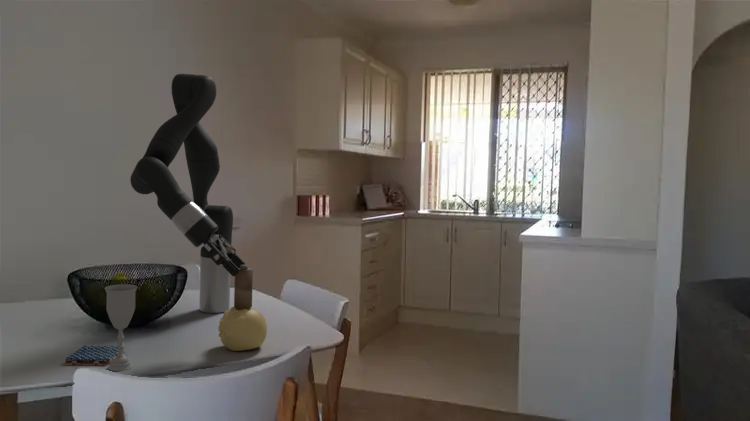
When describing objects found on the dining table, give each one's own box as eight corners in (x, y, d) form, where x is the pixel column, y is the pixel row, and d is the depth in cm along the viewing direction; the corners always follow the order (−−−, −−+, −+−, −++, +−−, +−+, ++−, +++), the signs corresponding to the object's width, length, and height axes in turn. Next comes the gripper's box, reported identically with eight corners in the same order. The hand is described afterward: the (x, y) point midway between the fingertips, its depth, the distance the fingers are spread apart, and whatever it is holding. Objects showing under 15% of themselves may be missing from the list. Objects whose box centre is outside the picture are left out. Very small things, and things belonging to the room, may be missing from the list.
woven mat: (61, 367, 133) (61, 358, 133) (81, 353, 144) (81, 344, 143) (109, 368, 134) (110, 359, 134) (126, 353, 144) (126, 345, 144)
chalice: (110, 361, 136) (111, 284, 135) (141, 362, 137) (142, 284, 136) (98, 372, 129) (99, 290, 128) (130, 372, 130) (131, 291, 128)
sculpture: (217, 342, 155) (218, 301, 154) (264, 340, 158) (265, 300, 157) (218, 355, 144) (219, 311, 143) (268, 353, 147) (269, 310, 146)
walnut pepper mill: (236, 304, 152) (236, 263, 152) (253, 304, 152) (254, 264, 152) (232, 308, 148) (233, 266, 147) (250, 308, 148) (251, 267, 147)
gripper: (198, 216, 141) (246, 265, 143) (212, 211, 155) (255, 256, 157) (175, 237, 141) (223, 286, 143) (191, 231, 156) (234, 275, 157)
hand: (240, 270), depth 150 cm, fingers open, 8 cm apart
